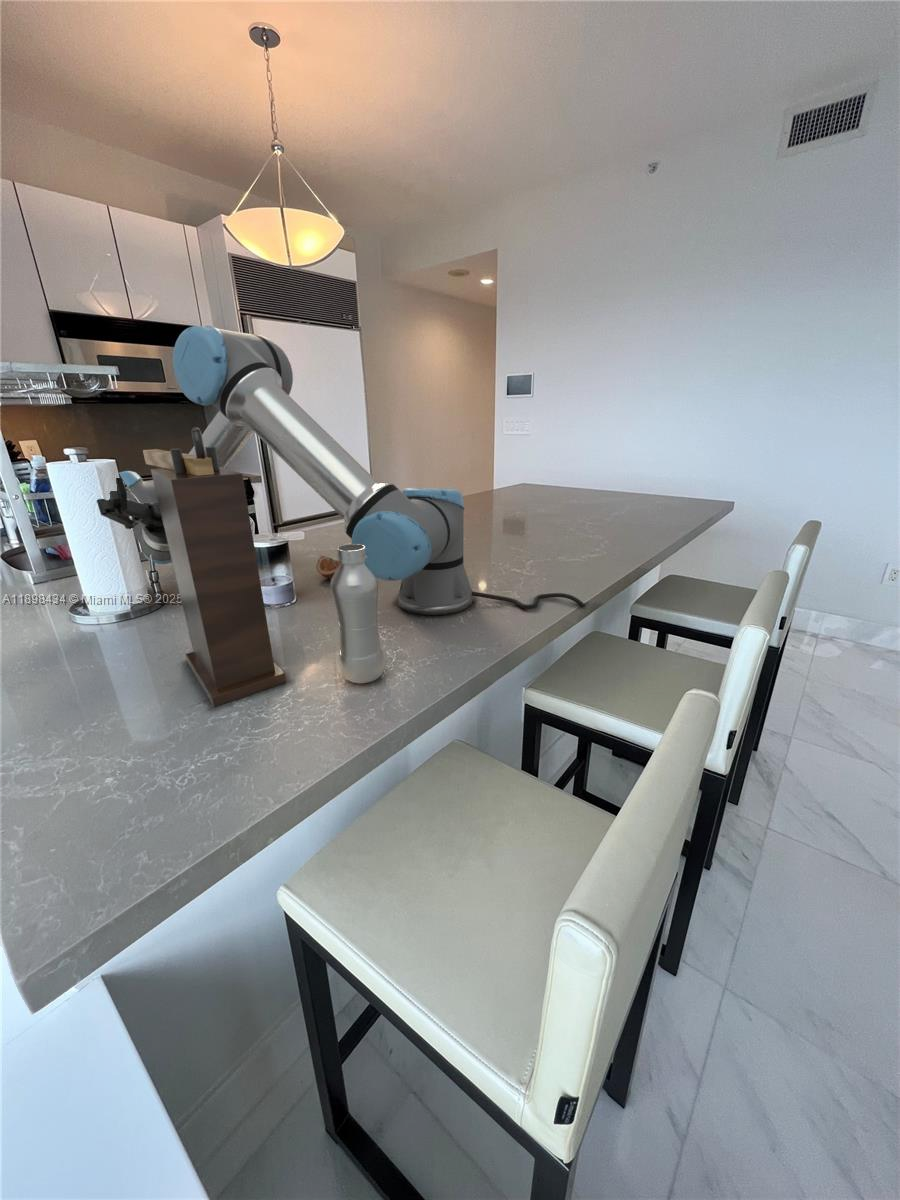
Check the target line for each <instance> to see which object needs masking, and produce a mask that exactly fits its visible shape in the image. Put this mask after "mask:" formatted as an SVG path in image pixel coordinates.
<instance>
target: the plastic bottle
mask: <svg viewBox="0 0 900 1200" xmlns="http://www.w3.org/2000/svg"><path fill="white" fill-rule="evenodd" d="M336 552H337V558H336V560H337V561H338V562H339V563H340V566H339V567H338V569H337V570H336V572H335V573H334V575H333V577H332V579H330V584H329V589H330V593H331V597H332V600H333V604H334V607H335V611H336V616H337V622H338V628H339V654H338V667H339V669H340V672H341V673H340V674H341V675H342V676H343V677H344V678H345V679H346V680H347V681H348V682H350V683H355V684H366V683H371V682H374V681H376V680H378V679H379V678H380V677H381V676H382V674H383V673H384V671H385V665H386V658H385V654H384V651H383V647H382V644H381V639H380V633H379V626H378V599H379V598H378V595H379V582H378V578H377V577H376V576H375V575H374V574H373V572H372V571H371V570H370V568H369V567H368V566H367V565H366V564H365V561H366V560H367V556H366V551H365V546H364V545H360V544H352V543H349V544H348V543H347V544H342V545H339V546H338V547H337V550H336Z"/></svg>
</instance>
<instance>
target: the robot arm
mask: <svg viewBox="0 0 900 1200" xmlns="http://www.w3.org/2000/svg"><path fill="white" fill-rule="evenodd" d="M173 347H174V348H173V352H172V366H173V370H174V373H173V374H174V377H175V380H176V383H177V385H178V387H179V389H180V391H181V392H182V394H184V396H185V397H186V398H187V399H188V400H189V401H191V402H192V403H195V404H198V405H200V406H203V407H204V406H205V407H206V406H210V405H211V406H213V407H215V408H216V409H217V410H218V411H217V413H216V414H215V416H214V417H213V419H212V420H211V421H210V423H209V424H208V426H207V427H206V428H205V430H204V431H203V433H201V435H202V440H203V445H204V450H205V447H215V448H216V453H217V458H218V464H219V467H222V468H225V469H227V468H228V466H229V465H230V464H231V463H232V461H233V460H234V459H235V457H236V456H237V455H238V454H239V453H240V451H241V450H242V449H243V447H244V446H245V445H246V444H247V442H248V441H249V440H250V439H251V438H252V436H253V435H254V434H256V436H257V437H258V438H260V440H261V441H263V442H264V443H265V444H266V445H267V446H268V448H270V449H271V450H272V451H273V452H274V453H275V454H276V455H277V456H278V457H279V458H280V459H281V460H282V461H283V462H284V463H286V465H287V466H288V467H290V468H291V470H293V471H294V472H295V473H296V474H297V475H298V476H299V477H300V478H301V479H302V480H303V481H304V482H305V483H306V484H307V485H308V486H310V488H311V489H312V490H313V491H315V492H316V494H317V495H318V496H320V498H322V499H323V501H325V502H326V504H328V505H329V506H330V508H331V509H333V510H334V511H335V513H337V514H338V515H339V516H340V517H341V518H342V519H343V521H344V533H345V534H346V535H347V536H348V537H349V538H350V539H351V544H360V545H364V546H365V551H366V556H367V560H366V561H365V564H366V565H367V566H368V567H369V568H370V570H371V571H372V572H373V574H374V575H375V576H376V579H380V580H382V581H388V582H395V581H396V582H397V581H399V585H398V592H397V603H398V606H399V607H400V608H401V609H403V610H405V611H407V612H408V613H411V614H416V615H422V616H423V615H424V616H444V615H451V614H455V613H459V612H461V611H463V610H466V609H468V608H469V607H470V606H471V605H472V603H473V597H477V598H484V599H489V600H496V601H502V602H507V603H511V604H513V605H516V606H518V607H519V608H521V609H524V610H529V609H530V610H531V609H535V608H536V607H537V606H538V604H539V600H541V599H550V598H564V599H566V600H567V599H568V600H570V601H572V602H574V603H576V604H577V605H578V606H579V607H581V608H585V607H586V605H585V604H584V602H583V601H582V600H580V599H579V598H577V597H576V596H573V595H571V594H569V593H562V592H552V593H551V592H550V593H542V594H541V593H540V594H538V595H536V596H535V597H534V598H533V603H529V604H526V603H523V602H521V601H519V600H518V599H515V598H511V597H508V596H502V595H495V594H491V593H484V592H478V591H473V590H472V586H471V583H470V581H469V577H468V574H467V572H466V568H465V566H464V531H465V530H464V522H465V521H464V512H465V505H464V496H463V493H462V492H461V491H460V490H458V489H455V488H440V487H439V488H438V487H406V488H403V489H402V491H401V490H400V489H399V487H397V486H396V484H394V483H392V482H379V481H377V480H376V478H375V477H374V476H373V475H372V474H371V473H369V471H367V469H365V468H364V467H363V466H362V465H361V464H360V463H359V462H358V460H356V458H354V457H353V456H352V455H351V454H350V453H349V452H348V451H347V450H346V449H345V448H344V447H343V446H341V444H339V443H338V441H337V440H336V439H334V437H333V436H331V434H329V433H328V432H327V431H326V430H325V429H324V428H323V427H322V426H321V425H320V424H319V423H318V422H317V421H315V419H314V418H313V417H311V415H309V413H307V411H305V410H304V409H303V408H302V407H301V405H299V404H298V403H297V402H296V401H295V400H294V399H293V398H292V397H291V396H290V394H291V391H292V388H293V381H294V374H293V368H292V364H291V361H290V360H289V358H288V356H287V354H286V353H285V351H284V350H283V349H282V348H281V346H280V345H278V344H277V343H276V342H275V341H274V340H272V339H270V338H268V337H266V336H264V335H261V334H254V333H246V332H240V331H234V330H228V329H222V328H217V327H215V326H212V325H205V326H203V325H193V326H190V327H187V328H185V329H184V330H183V331H182V332H181V333H180V334H179V336H178V338H177V339H176V341H175V344H174V346H173ZM188 454H190V455H196V452H195V447H194V446H193V447H192V448H191V450H190V451H189V452H188ZM205 456H206V457H207V455H206V450H205ZM118 473H119V474H120V476H121V477H120V478H116V484H117V491H110V493H109V494H110V499H109V500H108V499H105V498H98V499H97V500H96V503H97V506H98V510H99V513H100V516H102V517H105V518H107V519H109V520H111V521H114V522H116V523H118V524H120V525H122V526H124V528H125V530H130V529H131V528H133V531H134V534H135V536H134V537H135V539H136V540H137V542H138V543H139V544H140V548H141V552H142V554H143V556H145V558H146V559H147V560H148V561H150V555H151V553H152V556H153V561H154V562H153V563H154V564H156V565H157V564H158V565H167V564H171V563H172V558H171V554H170V550H169V546H168V541H167V537H166V533H165V528H164V524H163V520H162V516H161V511H160V507H159V503H158V499H157V494H156V490H155V486H154V481H153V479H150V480H144V479H143V477H141V476H140V475H139V474H138V472H136V471H132V470H125V471H121V472H118ZM122 479H123V480H124V482H125V484H126V485H127V487H128V488H130V489H131V490H132V491H133V492H134V493H135V494H136V495H137V497H138V499H139V500H140V502H141V503H139V502H136V501H135V500H134V498H133V497H132V495H131V494H130V493H129V492H127V491H126V490H125V487H124V483H123V480H122Z"/></svg>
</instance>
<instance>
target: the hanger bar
mask: <svg viewBox="0 0 900 1200" xmlns="http://www.w3.org/2000/svg"><path fill="white" fill-rule="evenodd" d="M191 437H192V441H193V447H195V452H196V455H190V454H189V453H183V452H182V456H183V461H184V466H185V471H186V473H187V474H191V475H195V476H205V475H214V470H213V465H212V459H211V458H209V457H206V456H205V450H204V445H203V440H202V431H201V429H200V428H199V427H193V428H192V429H191ZM142 453H143V458H144V462H145V465H148V466H153V467H157V468H165V469H170V470H174V466H173V461H172V456H171V452H170V450H164V449H159V448H155V449H143V450H142ZM174 471H175V470H174Z"/></svg>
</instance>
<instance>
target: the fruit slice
mask: <svg viewBox="0 0 900 1200" xmlns="http://www.w3.org/2000/svg"><path fill="white" fill-rule="evenodd" d="M339 566H340V563H339V562H338V561H337V559H333V557H329V556H325V555H320V557H319V559H318V560H317V562H316V566H315V569H316V571H317V573H319V574H320V575H321V576H322V577H324V578H327V579H329V580H331V579H332V577H333V575H334V573H335V572H336V570H337V569H338V567H339Z"/></svg>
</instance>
